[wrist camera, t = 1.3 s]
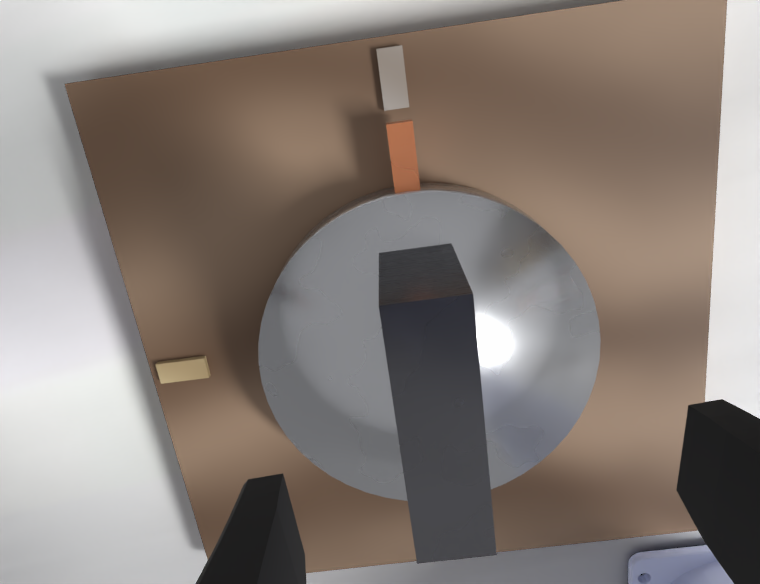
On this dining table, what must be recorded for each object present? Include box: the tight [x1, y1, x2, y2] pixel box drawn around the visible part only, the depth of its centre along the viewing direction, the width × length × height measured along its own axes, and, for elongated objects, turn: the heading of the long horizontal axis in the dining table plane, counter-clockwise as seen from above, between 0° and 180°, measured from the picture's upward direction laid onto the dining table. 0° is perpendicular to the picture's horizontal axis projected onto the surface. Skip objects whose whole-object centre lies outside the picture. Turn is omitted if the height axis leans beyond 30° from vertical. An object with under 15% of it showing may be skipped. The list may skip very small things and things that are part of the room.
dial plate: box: [65, 0, 727, 573], centre depth 20 cm, size 18×18×2 cm
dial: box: [258, 120, 601, 563], centre depth 16 cm, size 12×10×6 cm
